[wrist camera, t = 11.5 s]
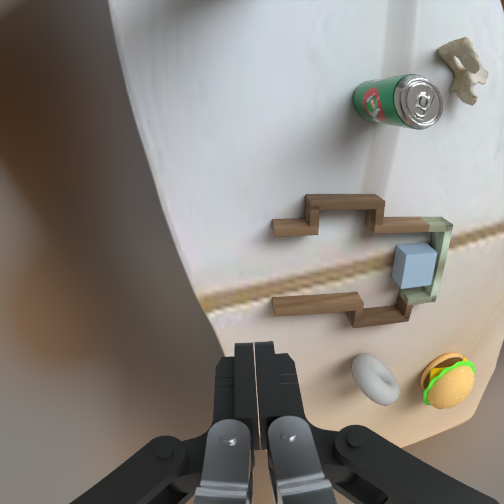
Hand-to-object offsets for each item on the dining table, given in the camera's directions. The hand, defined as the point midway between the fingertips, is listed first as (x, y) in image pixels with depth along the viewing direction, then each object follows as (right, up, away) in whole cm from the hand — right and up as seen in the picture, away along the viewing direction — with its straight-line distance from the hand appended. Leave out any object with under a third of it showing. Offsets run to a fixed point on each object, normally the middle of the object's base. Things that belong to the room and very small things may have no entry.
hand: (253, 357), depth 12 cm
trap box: (+15, +3, +29) cm, 32 cm away
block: (+22, +3, +29) cm, 37 cm away
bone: (+27, +28, +18) cm, 43 cm away
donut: (+19, -13, +37) cm, 44 cm away
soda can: (+14, +22, +20) cm, 33 cm away
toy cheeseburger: (+37, -19, +40) cm, 58 cm away
